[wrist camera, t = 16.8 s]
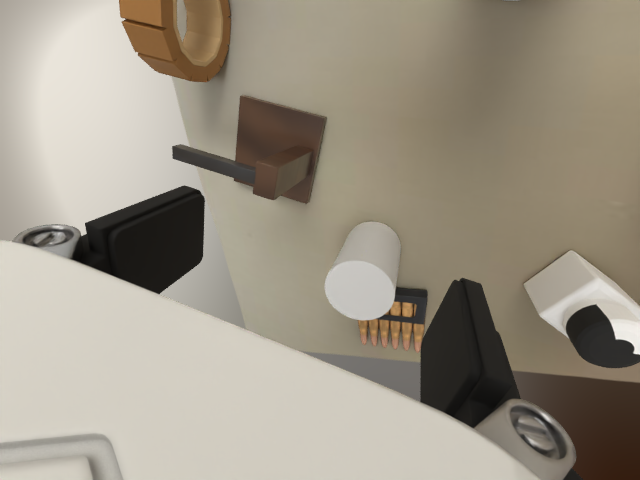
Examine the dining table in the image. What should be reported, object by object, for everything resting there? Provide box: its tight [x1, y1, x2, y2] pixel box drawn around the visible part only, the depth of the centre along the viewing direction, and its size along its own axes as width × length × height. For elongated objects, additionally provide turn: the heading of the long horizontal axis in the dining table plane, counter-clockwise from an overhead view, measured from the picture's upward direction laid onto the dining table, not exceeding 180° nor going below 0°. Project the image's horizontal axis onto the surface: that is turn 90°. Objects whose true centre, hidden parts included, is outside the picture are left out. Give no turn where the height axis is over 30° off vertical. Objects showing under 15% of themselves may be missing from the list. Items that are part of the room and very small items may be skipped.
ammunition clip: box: [358, 288, 427, 353], centre depth 49 cm, size 11×2×12 cm
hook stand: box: [172, 96, 327, 204], centre depth 38 cm, size 12×13×13 cm
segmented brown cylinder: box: [119, 0, 231, 82], centre depth 34 cm, size 12×5×12 cm, turn 168°
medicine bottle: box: [524, 251, 640, 368], centre depth 35 cm, size 7×7×12 cm
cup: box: [325, 222, 401, 320], centre depth 40 cm, size 8×8×12 cm
